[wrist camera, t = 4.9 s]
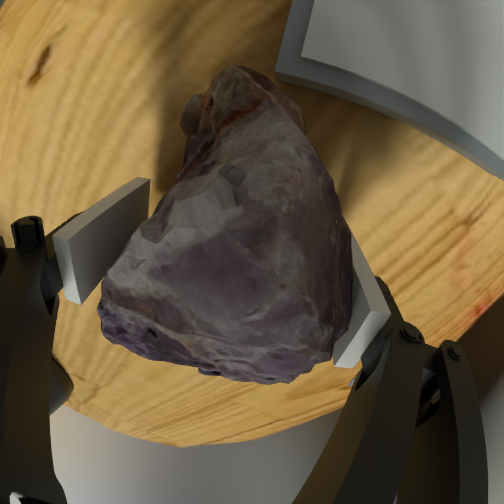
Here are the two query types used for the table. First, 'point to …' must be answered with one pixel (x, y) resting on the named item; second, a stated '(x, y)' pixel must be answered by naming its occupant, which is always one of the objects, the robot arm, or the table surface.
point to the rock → (237, 246)
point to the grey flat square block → (408, 65)
